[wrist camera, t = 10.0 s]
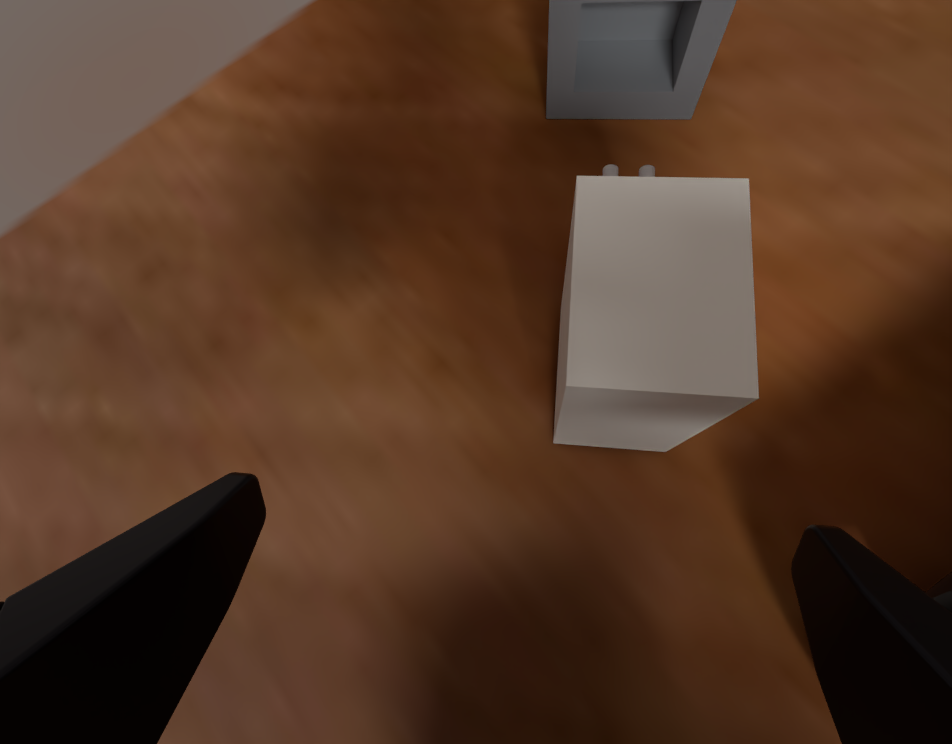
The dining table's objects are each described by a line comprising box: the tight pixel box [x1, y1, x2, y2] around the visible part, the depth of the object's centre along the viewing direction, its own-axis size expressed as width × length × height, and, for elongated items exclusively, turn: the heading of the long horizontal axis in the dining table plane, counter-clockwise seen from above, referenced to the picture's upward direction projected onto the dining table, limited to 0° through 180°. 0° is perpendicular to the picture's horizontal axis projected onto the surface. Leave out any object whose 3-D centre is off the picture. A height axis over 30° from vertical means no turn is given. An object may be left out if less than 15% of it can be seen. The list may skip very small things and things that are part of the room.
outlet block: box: [546, 0, 737, 119], centre depth 24 cm, size 4×7×8 cm, turn 85°
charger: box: [553, 164, 759, 452], centre depth 19 cm, size 10×4×10 cm, turn 175°
